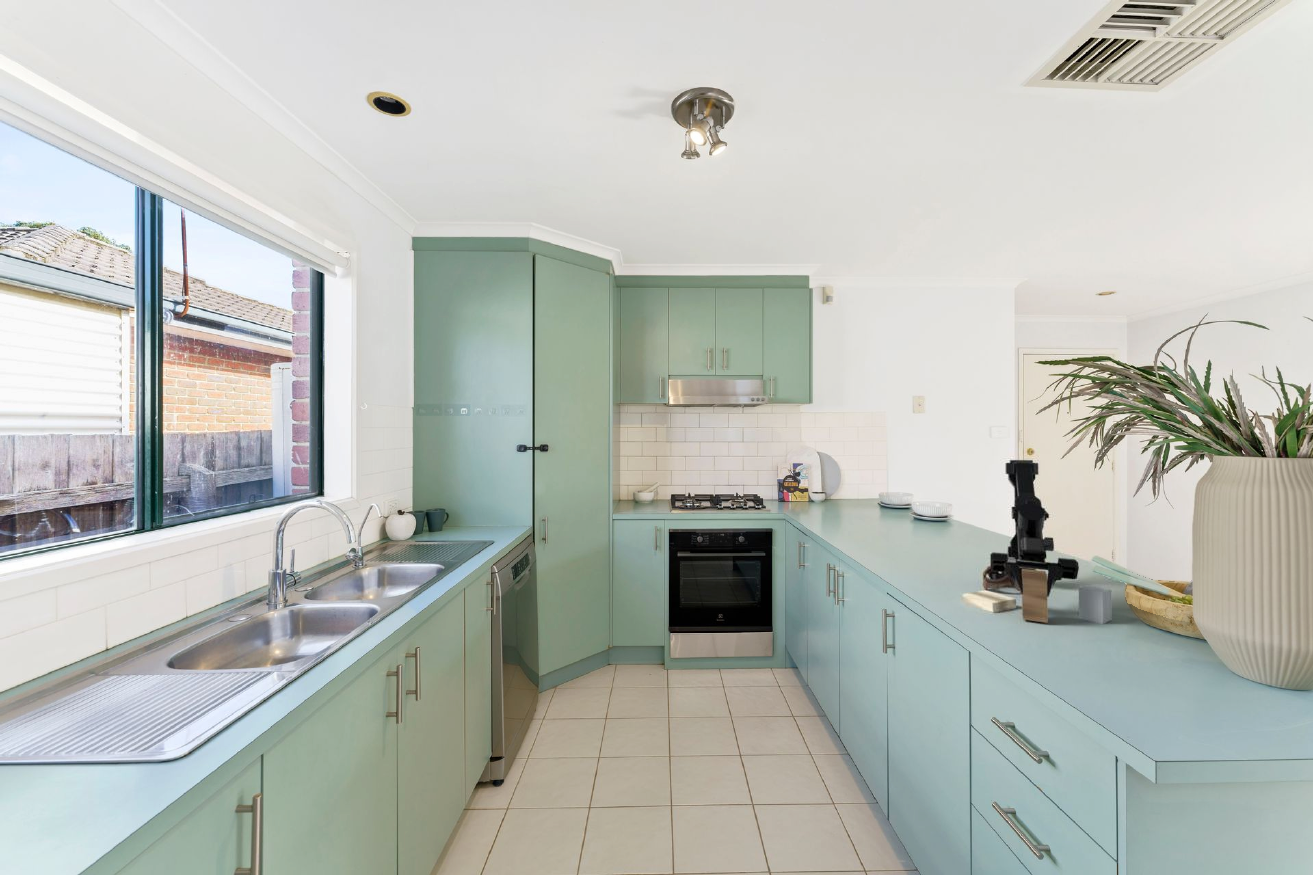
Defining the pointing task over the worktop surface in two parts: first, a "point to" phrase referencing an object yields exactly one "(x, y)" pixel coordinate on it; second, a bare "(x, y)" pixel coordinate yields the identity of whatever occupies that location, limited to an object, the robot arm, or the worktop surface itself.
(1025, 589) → the walnut block
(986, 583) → the pottery mug
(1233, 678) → the worktop surface
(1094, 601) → the grey block
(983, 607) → the birch block
